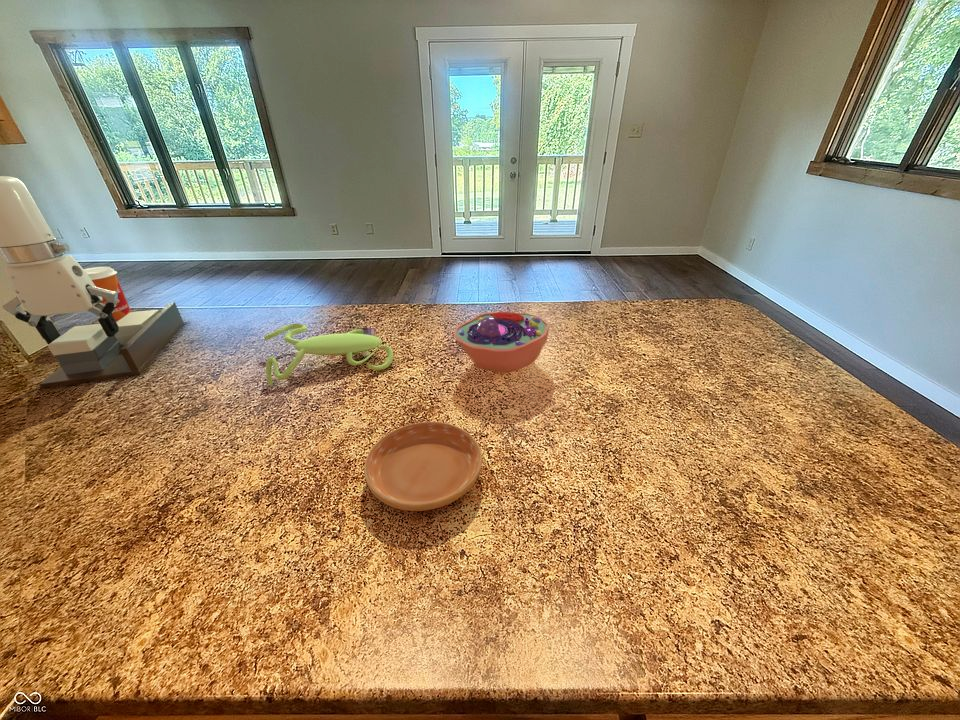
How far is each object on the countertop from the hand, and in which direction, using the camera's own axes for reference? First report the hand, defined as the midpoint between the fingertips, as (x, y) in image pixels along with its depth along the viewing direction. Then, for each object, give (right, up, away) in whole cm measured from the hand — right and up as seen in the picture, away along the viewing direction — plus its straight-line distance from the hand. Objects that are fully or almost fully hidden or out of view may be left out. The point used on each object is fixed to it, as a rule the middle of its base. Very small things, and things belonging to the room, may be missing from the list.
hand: (85, 337), depth 77 cm
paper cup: (-14, +5, +22) cm, 27 cm away
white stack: (0, +1, +14) cm, 14 cm away
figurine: (+47, -4, +5) cm, 48 cm away
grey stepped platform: (0, -3, +9) cm, 9 cm away
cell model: (+85, -5, +3) cm, 85 cm away
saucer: (+72, -21, -23) cm, 79 cm away
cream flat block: (0, -1, 0) cm, 1 cm away
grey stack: (0, -6, +3) cm, 7 cm away
